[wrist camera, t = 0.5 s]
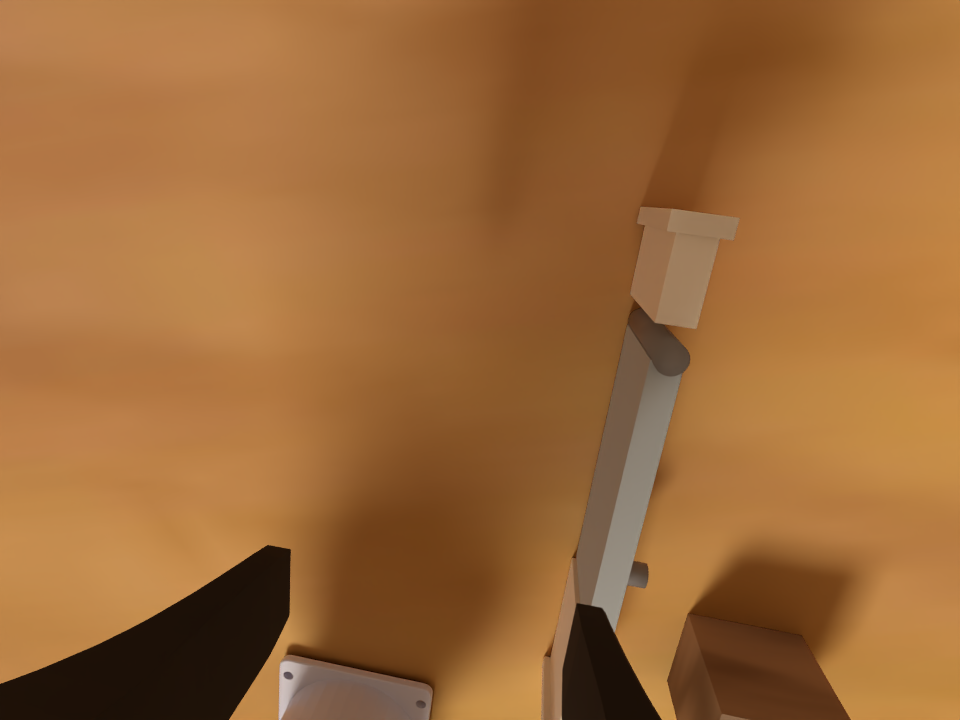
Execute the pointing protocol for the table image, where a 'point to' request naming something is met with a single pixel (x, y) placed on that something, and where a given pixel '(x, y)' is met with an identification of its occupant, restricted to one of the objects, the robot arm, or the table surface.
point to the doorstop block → (747, 675)
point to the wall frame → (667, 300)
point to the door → (628, 463)
